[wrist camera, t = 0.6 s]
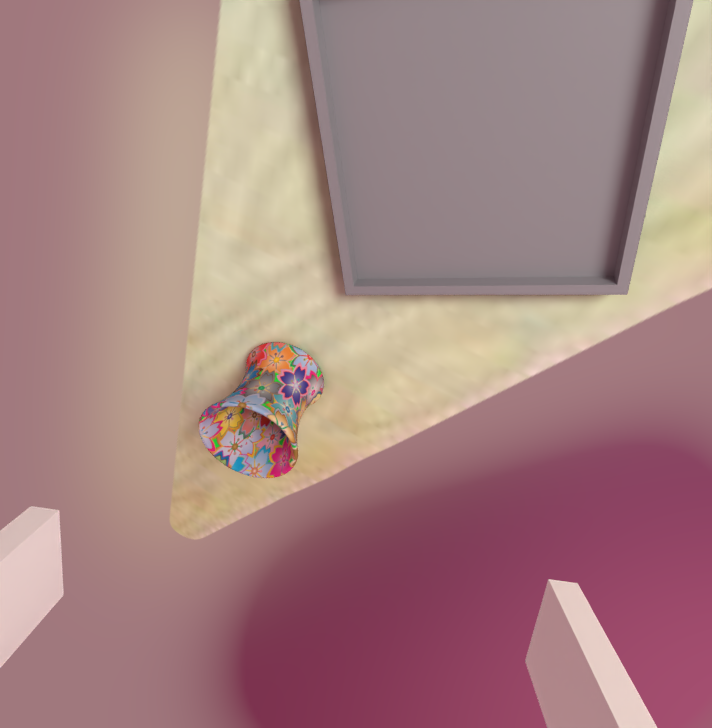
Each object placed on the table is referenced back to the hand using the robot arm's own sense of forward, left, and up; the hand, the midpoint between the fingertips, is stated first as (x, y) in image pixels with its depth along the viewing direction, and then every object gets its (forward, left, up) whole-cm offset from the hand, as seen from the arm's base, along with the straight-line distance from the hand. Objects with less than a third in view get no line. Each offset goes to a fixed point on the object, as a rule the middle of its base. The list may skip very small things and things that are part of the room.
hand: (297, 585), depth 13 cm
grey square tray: (-4, +4, -31) cm, 31 cm away
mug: (+18, -16, -31) cm, 40 cm away
